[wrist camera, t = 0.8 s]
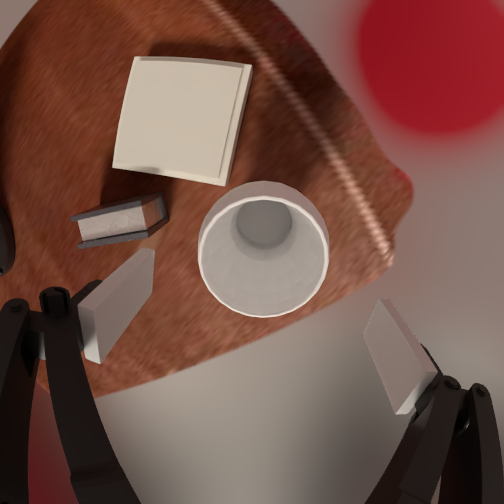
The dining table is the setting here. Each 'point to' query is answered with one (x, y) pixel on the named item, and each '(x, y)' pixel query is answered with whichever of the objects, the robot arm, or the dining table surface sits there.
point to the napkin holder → (122, 220)
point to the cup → (263, 249)
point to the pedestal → (182, 117)
